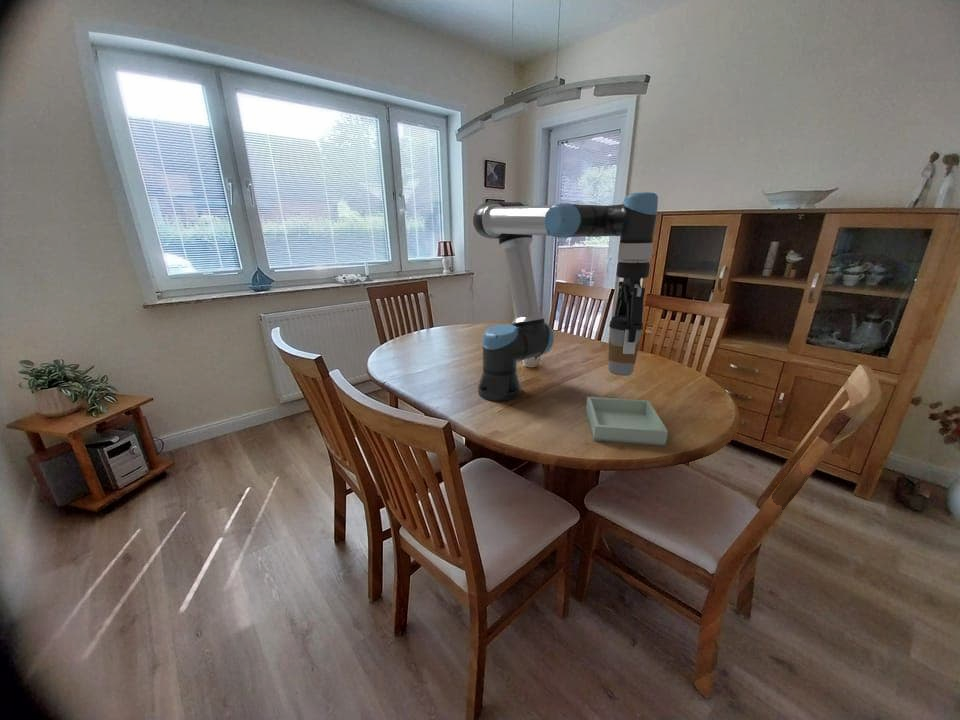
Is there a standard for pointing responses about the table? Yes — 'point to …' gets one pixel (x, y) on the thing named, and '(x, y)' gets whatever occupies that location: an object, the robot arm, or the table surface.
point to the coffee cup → (621, 348)
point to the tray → (625, 421)
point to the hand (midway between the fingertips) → (623, 348)
